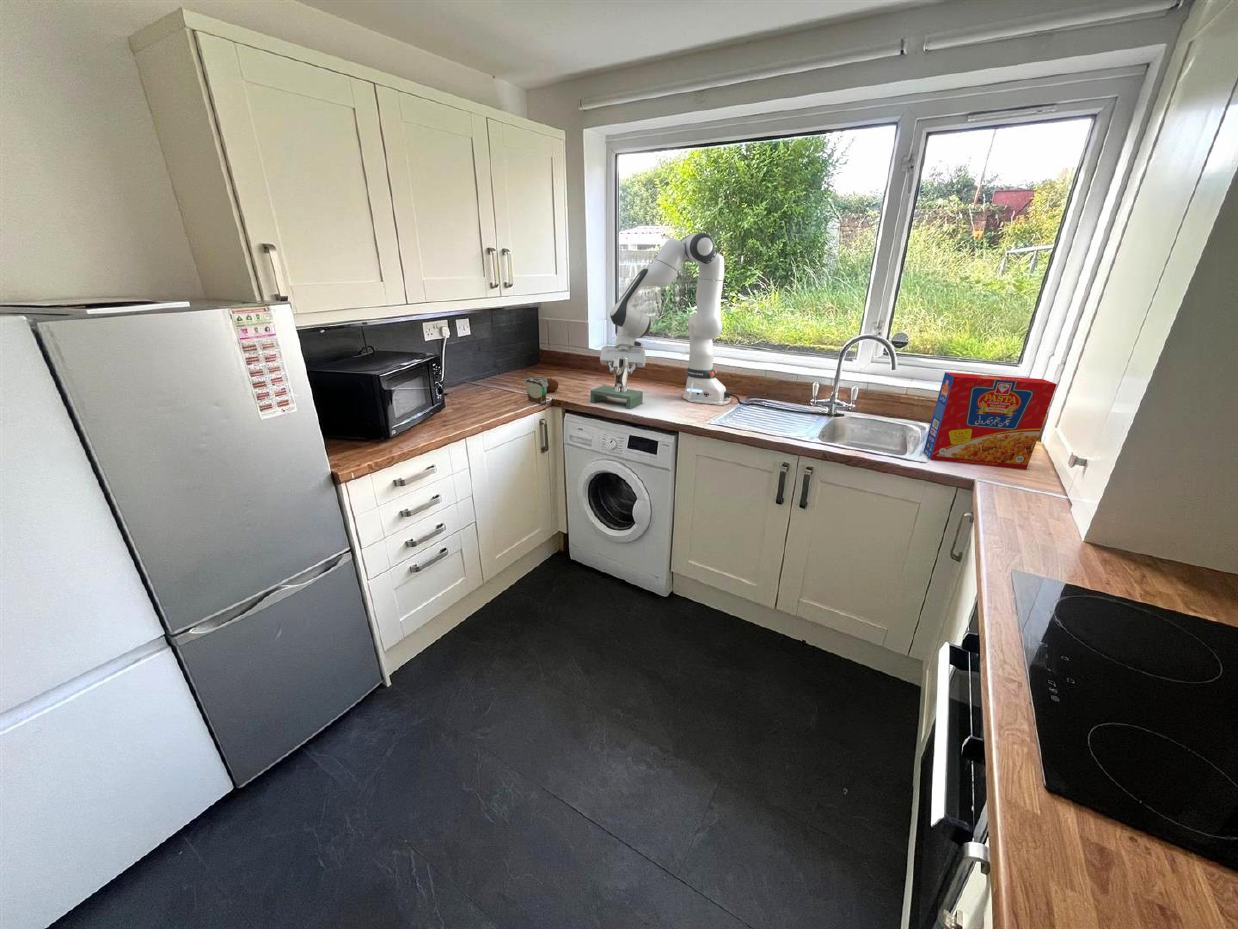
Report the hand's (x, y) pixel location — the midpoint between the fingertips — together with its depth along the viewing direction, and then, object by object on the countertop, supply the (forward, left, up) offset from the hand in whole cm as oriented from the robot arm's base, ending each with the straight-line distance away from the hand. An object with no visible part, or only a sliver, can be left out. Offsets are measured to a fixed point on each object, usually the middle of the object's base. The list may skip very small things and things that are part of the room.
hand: (620, 372), depth 217 cm
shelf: (+2, -1, -14) cm, 14 cm away
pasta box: (-133, -5, -14) cm, 134 cm away
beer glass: (0, -1, -9) cm, 9 cm away
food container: (+30, +18, -14) cm, 38 cm away
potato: (+38, -1, -14) cm, 41 cm away
